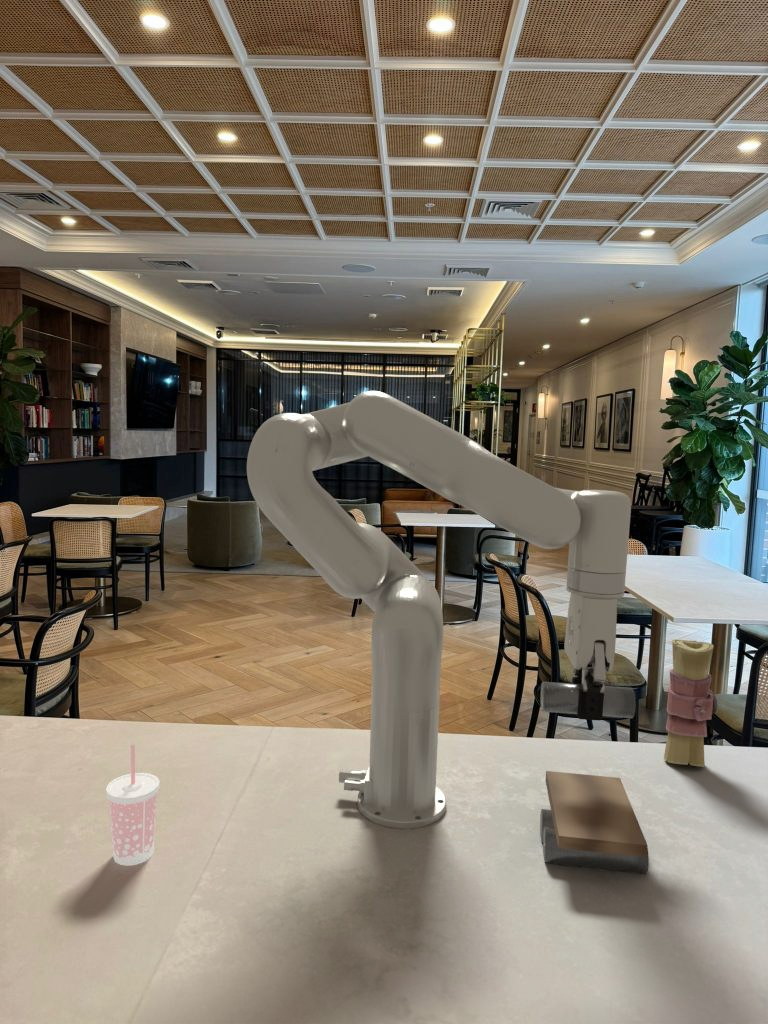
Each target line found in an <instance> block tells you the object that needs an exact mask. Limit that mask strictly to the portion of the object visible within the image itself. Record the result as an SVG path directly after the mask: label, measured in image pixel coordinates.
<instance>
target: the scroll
mask: <svg viewBox="0 0 768 1024" xmlns="http://www.w3.org/2000/svg"><path fill="white" fill-rule="evenodd" d="M671 643H672V667H673V668H671V669H669V682H670V683H669V684H670V686H668V689H667V704H666V713H667V719H666V723H665V730H666V731H667V732H668V733H667V737H666V743H665V748H664V755H663V760H664V761H665V762H667V763H669V764H670V763H671V764H674V765H675V764H676V765H686V766H687V765H688V764H689V765H690V766H693V767H694V766H695V767H702V768H706V764H705V742H704V741H705V739H704V738H707V737H708V729H707V721H708V720H712V716H713V715H715V713H716V712H717V709H718V700H717V697H716V695H715V693H714V692H713V690H711V684H712V680H713V677H712V675H711V674H710V667H711V663H712V657H713V650H714V644H713V643H710V642H706V641H697V640H684V639H672V641H671Z"/></svg>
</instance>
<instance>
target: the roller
mask: <svg viewBox="0 0 768 1024" xmlns="http://www.w3.org/2000/svg"><path fill="white" fill-rule="evenodd" d="M579 689H582V684H572V683H567V682H551V681H550V682H549V681H542V682H541V684H540V708H541V709H540V710H541V711H542V712H544V713H559V714H572V715H577V711H578V697H579ZM636 701H637V700H636V693H635V691H634V689H633V687H626V686H623V687H622V686H611V685H609V686H608V685H605V689H604V702H603V715H602V717H611V718H627V719H633V718H634V716H635V713H636V707H637V706H636V705H637V704H636Z"/></svg>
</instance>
